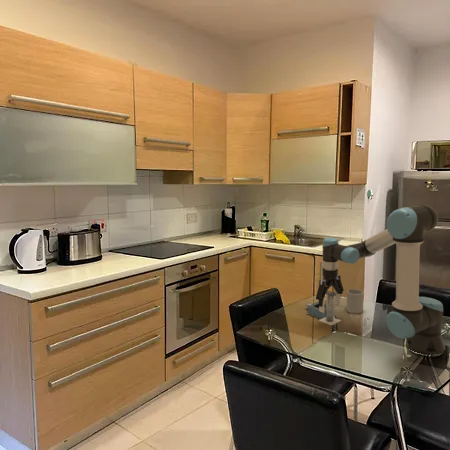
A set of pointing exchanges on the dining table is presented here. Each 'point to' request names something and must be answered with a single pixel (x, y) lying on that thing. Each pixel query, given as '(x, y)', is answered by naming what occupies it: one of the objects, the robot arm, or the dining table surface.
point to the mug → (354, 301)
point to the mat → (329, 322)
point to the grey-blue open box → (316, 310)
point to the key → (330, 306)
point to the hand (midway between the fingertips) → (329, 308)
